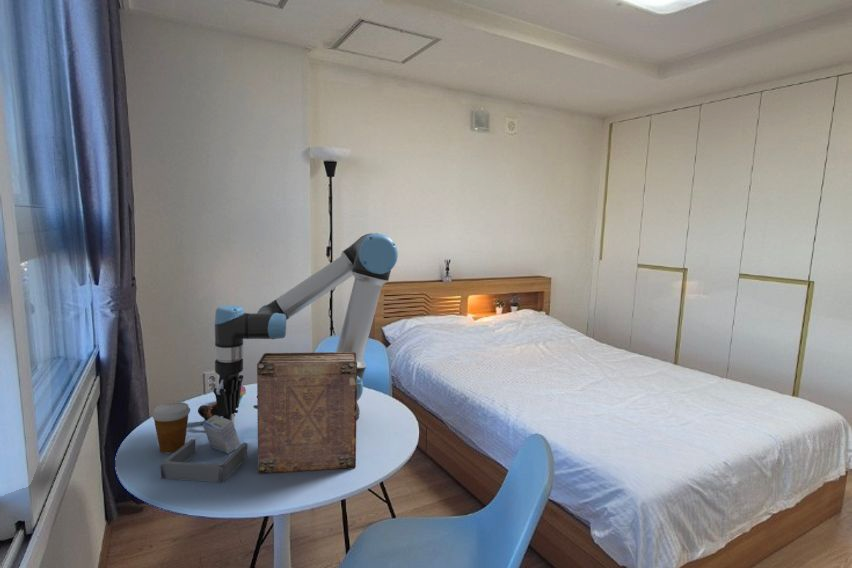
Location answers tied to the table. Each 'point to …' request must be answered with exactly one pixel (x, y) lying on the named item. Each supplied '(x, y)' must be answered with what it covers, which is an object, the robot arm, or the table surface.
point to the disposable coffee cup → (171, 425)
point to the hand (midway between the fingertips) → (228, 434)
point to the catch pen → (200, 465)
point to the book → (306, 411)
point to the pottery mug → (208, 411)
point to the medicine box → (221, 434)
